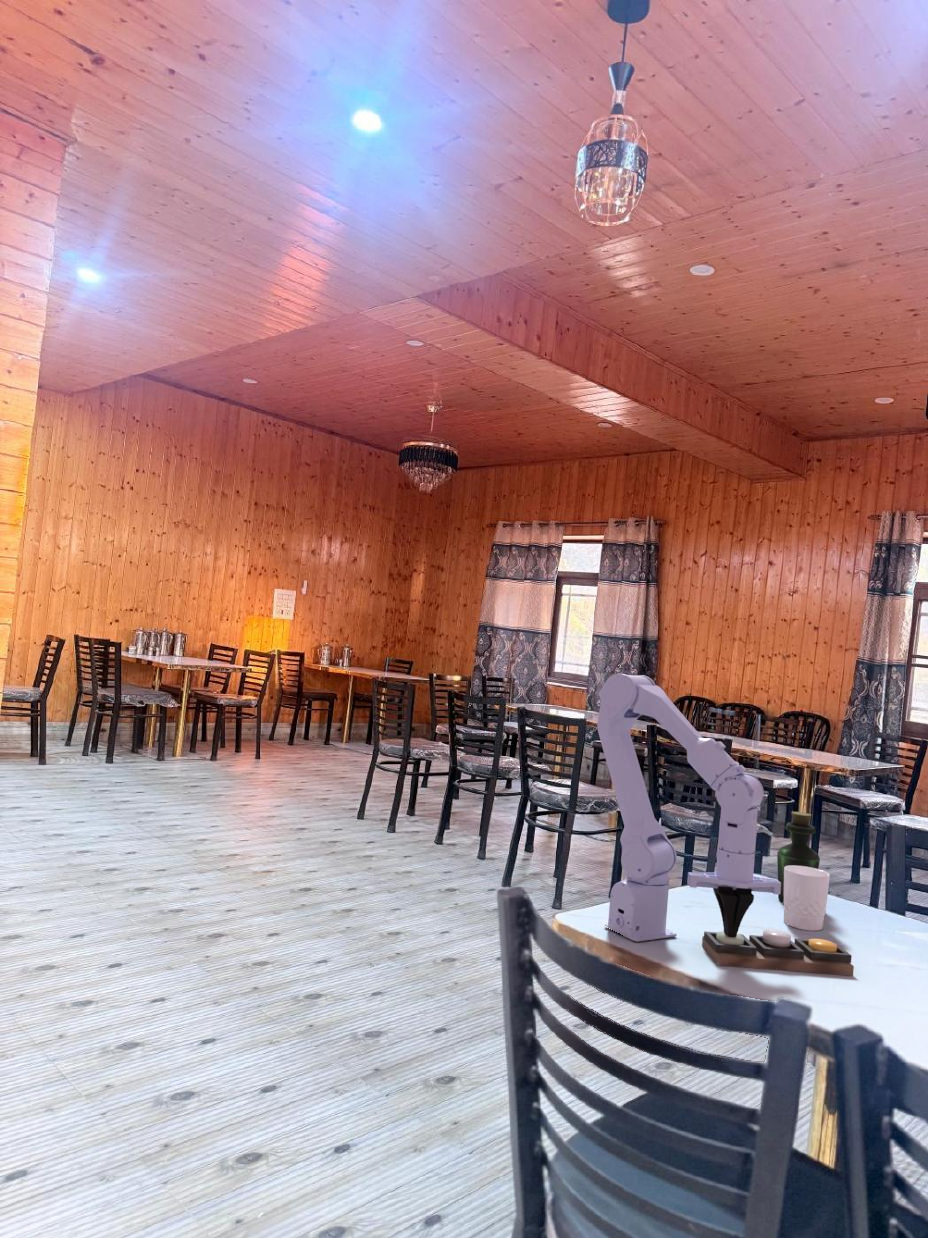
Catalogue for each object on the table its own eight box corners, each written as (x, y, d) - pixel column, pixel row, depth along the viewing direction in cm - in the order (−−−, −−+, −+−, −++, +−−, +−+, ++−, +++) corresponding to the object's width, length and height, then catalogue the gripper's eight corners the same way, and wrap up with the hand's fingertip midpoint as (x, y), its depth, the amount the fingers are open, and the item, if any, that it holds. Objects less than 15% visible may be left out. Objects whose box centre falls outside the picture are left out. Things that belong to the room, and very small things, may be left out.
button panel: (717, 965, 133) (719, 947, 133) (700, 945, 142) (701, 929, 142) (854, 976, 134) (855, 958, 134) (828, 955, 143) (829, 939, 143)
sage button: (720, 948, 136) (721, 939, 136) (712, 939, 140) (713, 930, 140) (747, 950, 136) (747, 941, 136) (738, 941, 140) (738, 932, 140)
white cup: (822, 935, 154) (825, 879, 154) (776, 925, 158) (780, 870, 158) (829, 925, 160) (833, 871, 161) (785, 915, 164) (789, 863, 165)
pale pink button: (768, 946, 136) (768, 937, 136) (758, 937, 140) (759, 928, 140) (794, 948, 136) (795, 939, 136) (784, 939, 140) (784, 930, 140)
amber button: (814, 955, 136) (815, 946, 136) (803, 946, 140) (804, 937, 140) (841, 957, 136) (841, 948, 136) (829, 948, 140) (829, 939, 140)
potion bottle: (774, 904, 172) (781, 814, 173) (773, 894, 180) (779, 808, 180) (818, 911, 170) (824, 819, 170) (815, 901, 177) (821, 813, 178)
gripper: (698, 852, 134) (692, 939, 134) (790, 859, 135) (784, 947, 134) (686, 842, 141) (680, 925, 141) (773, 849, 142) (767, 932, 141)
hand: (730, 935), depth 138 cm, fingers closed
